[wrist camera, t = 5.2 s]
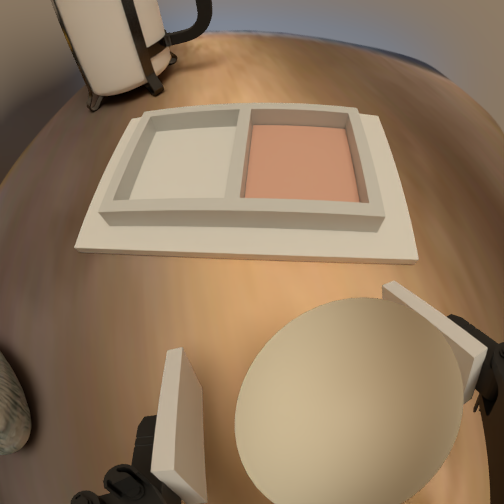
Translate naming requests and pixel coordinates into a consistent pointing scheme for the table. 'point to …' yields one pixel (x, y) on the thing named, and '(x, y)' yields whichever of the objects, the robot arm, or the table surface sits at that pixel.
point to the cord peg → (349, 406)
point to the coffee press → (122, 42)
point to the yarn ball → (12, 411)
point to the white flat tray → (252, 187)
